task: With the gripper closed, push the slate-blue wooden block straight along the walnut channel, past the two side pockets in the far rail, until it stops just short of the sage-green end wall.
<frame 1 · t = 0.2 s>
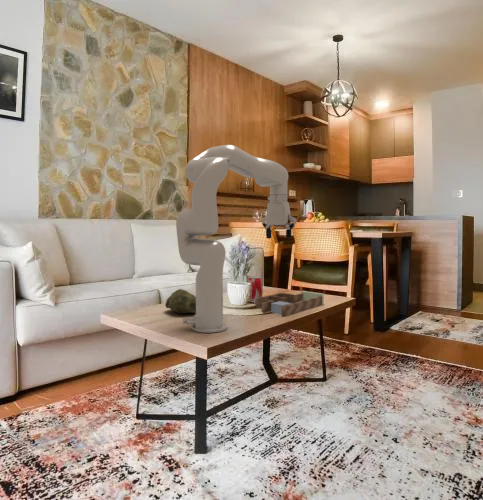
hand: (278, 238, 173), 31 cm above the table, tool pointing down, fingers open, 9 cm apart
decorative rock: (184, 313, 166), on the table
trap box: (293, 308, 173), on the table
block: (281, 312, 167), on the table
soda can: (255, 302, 187), on the table
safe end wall: (312, 303, 185), on the table
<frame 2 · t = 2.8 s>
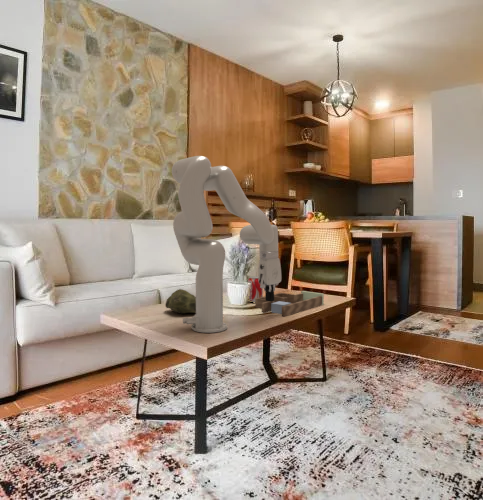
hand: (269, 300, 160), 6 cm above the table, tool pointing down, fingers closed
nothing on the table moved.
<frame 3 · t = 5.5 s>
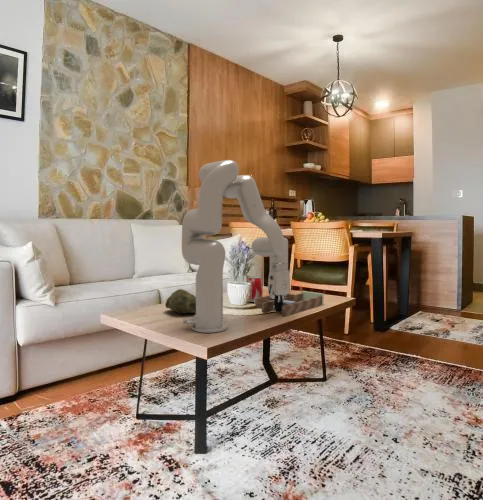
hand: (278, 310, 165), 1 cm above the table, tool pointing down, fingers closed
block: (286, 311, 169), on the table, touching gripper
everything else where it was.
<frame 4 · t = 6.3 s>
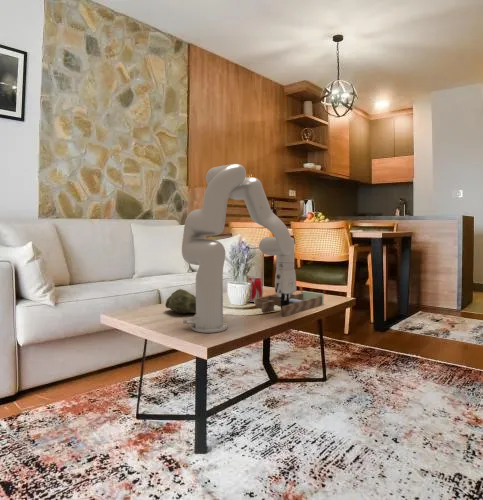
hand: (284, 309, 169), 1 cm above the table, tool pointing down, fingers closed
block: (293, 309, 172), on the table, touching gripper
everything else where it was.
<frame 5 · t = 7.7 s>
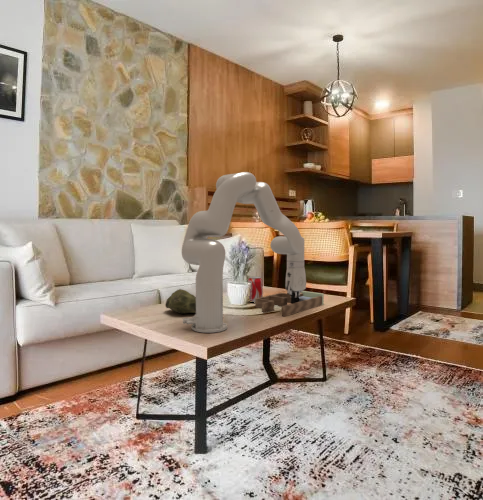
hand: (295, 306, 174), 1 cm above the table, tool pointing down, fingers closed
block: (303, 306, 178), on the table, touching gripper
everything else where it was.
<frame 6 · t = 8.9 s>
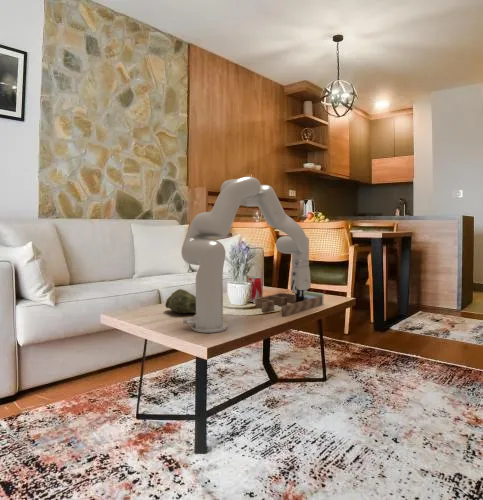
hand: (299, 304, 177), 1 cm above the table, tool pointing down, fingers closed
block: (308, 305, 180), on the table, touching gripper
everything else where it was.
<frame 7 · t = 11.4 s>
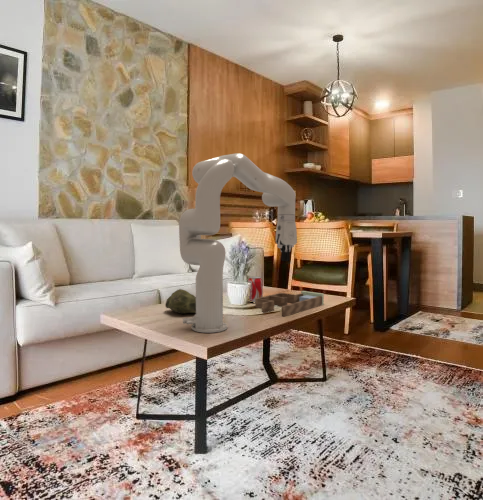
hand: (285, 260, 173), 21 cm above the table, tool pointing down, fingers closed
block: (308, 305, 181), on the table
everything else where it was.
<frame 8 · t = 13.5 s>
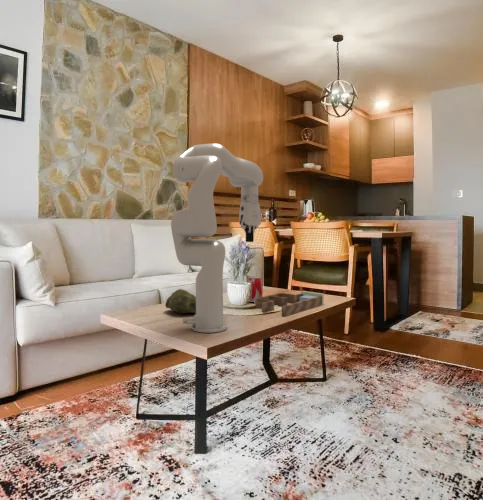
hand: (249, 241, 174), 29 cm above the table, tool pointing down, fingers closed
nothing on the table moved.
at the end: block 5.0 cm from the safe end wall (horizontally); block tilted 0°; block moved 19.8 cm from its start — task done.
